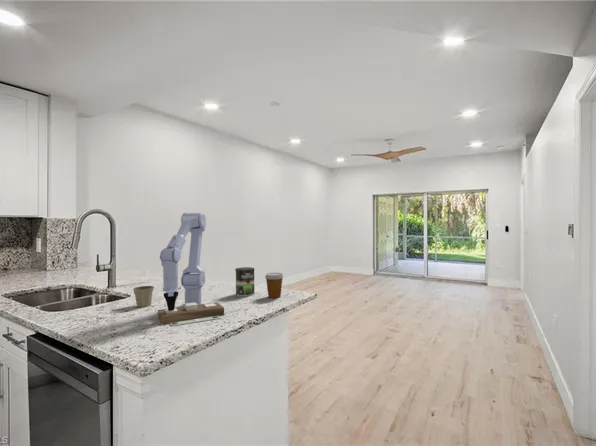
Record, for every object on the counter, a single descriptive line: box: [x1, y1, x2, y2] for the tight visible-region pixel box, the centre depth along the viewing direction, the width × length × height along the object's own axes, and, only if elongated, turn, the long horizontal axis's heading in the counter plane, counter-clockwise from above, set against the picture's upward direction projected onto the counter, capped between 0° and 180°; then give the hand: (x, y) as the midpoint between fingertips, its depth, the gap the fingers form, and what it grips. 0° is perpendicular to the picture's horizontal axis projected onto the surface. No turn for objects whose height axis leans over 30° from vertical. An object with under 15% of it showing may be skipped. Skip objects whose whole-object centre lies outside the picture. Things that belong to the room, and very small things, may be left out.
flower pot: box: [132, 285, 155, 308], centre depth 158 cm, size 9×9×9 cm
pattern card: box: [169, 315, 221, 327], centre depth 133 cm, size 4×19×1 cm, turn 119°
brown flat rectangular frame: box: [157, 302, 225, 325], centre depth 140 cm, size 11×25×3 cm, turn 119°
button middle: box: [184, 302, 198, 311], centre depth 140 cm, size 4×4×3 cm
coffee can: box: [234, 266, 255, 297], centre depth 180 cm, size 10×10×14 cm
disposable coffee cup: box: [264, 272, 284, 299], centre depth 173 cm, size 10×10×12 cm
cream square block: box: [165, 307, 178, 314], centre depth 136 cm, size 4×4×3 cm
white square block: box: [203, 302, 217, 308], centre depth 144 cm, size 4×4×3 cm
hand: (171, 310), depth 136 cm, fingers closed, pressing on cream square block
